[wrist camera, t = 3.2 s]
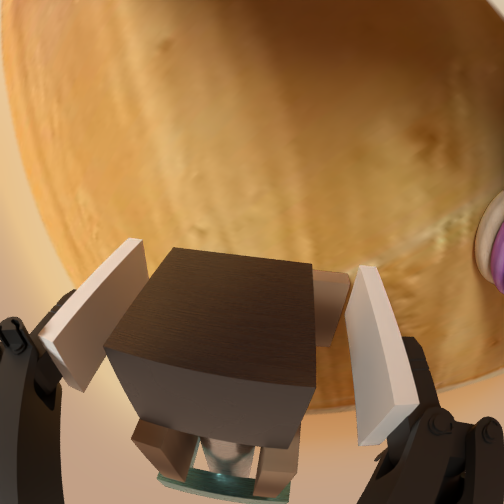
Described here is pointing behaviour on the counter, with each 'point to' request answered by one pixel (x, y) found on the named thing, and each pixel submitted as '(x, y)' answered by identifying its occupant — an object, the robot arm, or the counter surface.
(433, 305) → the counter surface
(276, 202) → the counter surface
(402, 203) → the counter surface
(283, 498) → the spacer
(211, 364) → the shaft
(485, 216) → the stacking toy
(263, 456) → the bearing block
